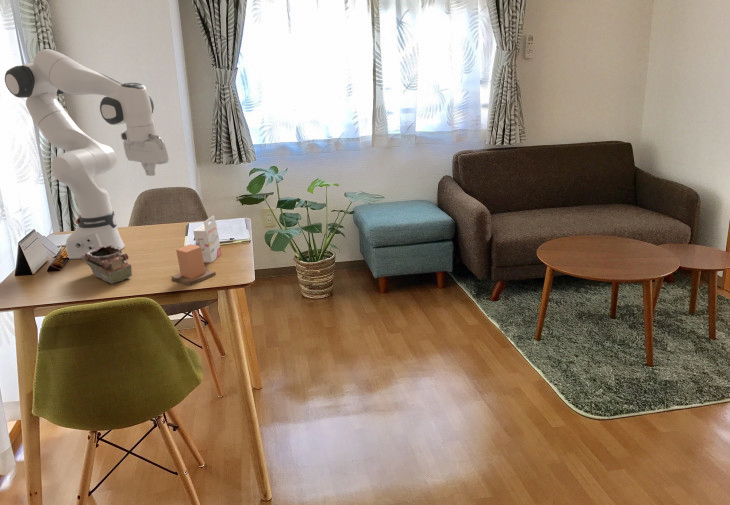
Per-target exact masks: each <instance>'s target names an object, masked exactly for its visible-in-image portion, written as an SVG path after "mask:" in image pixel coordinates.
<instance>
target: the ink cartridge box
mask: <svg viewBox="0 0 730 505" xmlns="http://www.w3.org/2000/svg"><path fill="white" fill-rule="evenodd" d="M192 232H193V236H194V241H195V246H199V247H201V250H202V255H203V261H204V263H213V262H214V261H215V260H216V259H217V258H218V257H220V256H221V255H222V249H221V244H220V238H219V232H218V227H217V222H216V218H215V215H212V216H210V217H209V218H207V219H206V220H205V221H203V223H202V224H201V225H200V226H198V227H197V228H196V229H194V230H192Z"/></svg>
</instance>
